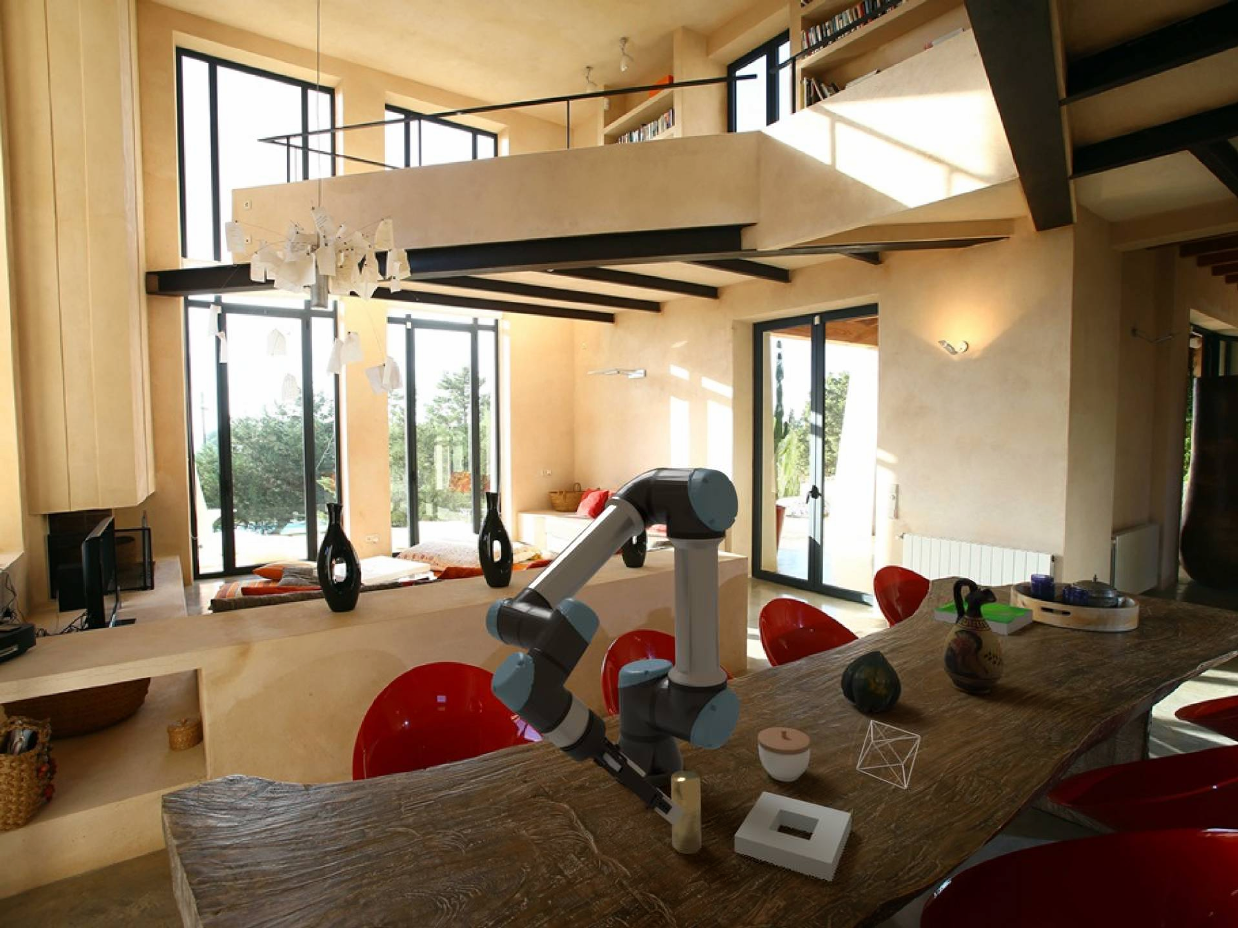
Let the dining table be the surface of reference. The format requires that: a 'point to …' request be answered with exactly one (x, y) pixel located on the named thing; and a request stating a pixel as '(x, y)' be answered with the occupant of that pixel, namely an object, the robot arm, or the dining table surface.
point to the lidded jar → (784, 752)
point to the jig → (792, 851)
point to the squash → (871, 682)
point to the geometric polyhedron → (893, 751)
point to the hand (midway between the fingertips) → (658, 797)
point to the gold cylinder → (687, 811)
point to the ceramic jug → (972, 643)
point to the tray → (991, 616)
